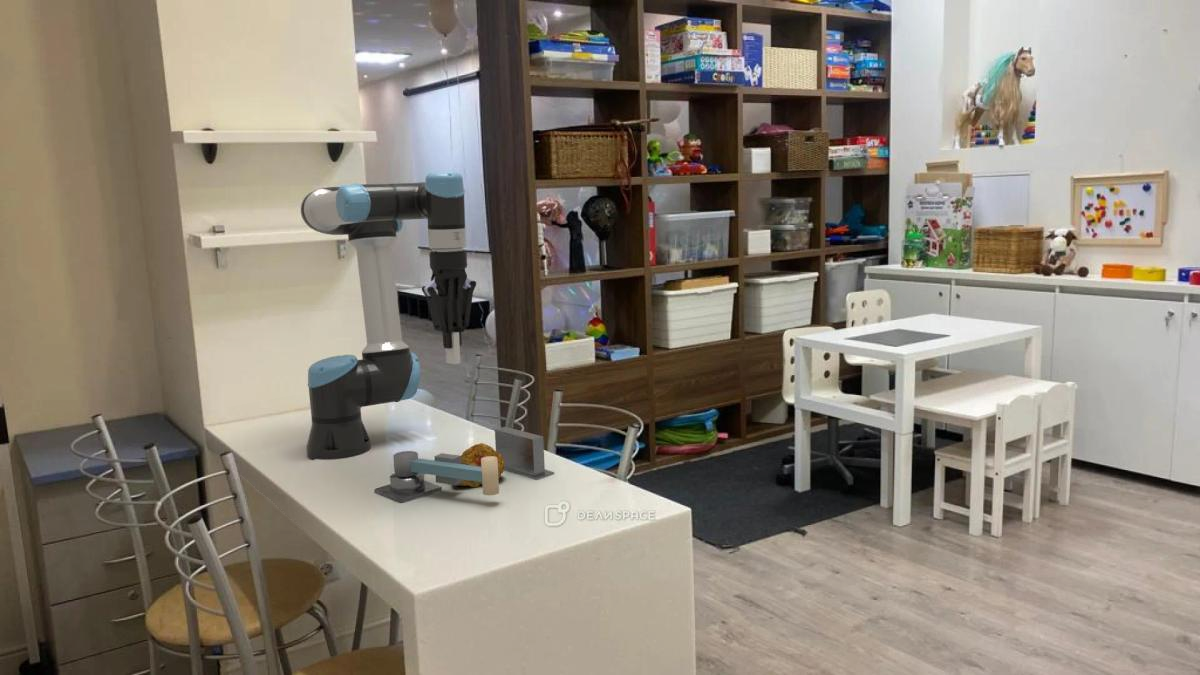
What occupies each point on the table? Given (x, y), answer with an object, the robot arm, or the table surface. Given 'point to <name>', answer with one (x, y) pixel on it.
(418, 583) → the table surface
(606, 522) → the table surface
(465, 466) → the lever
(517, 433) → the frame
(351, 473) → the table surface
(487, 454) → the golden brown lumpy piece
